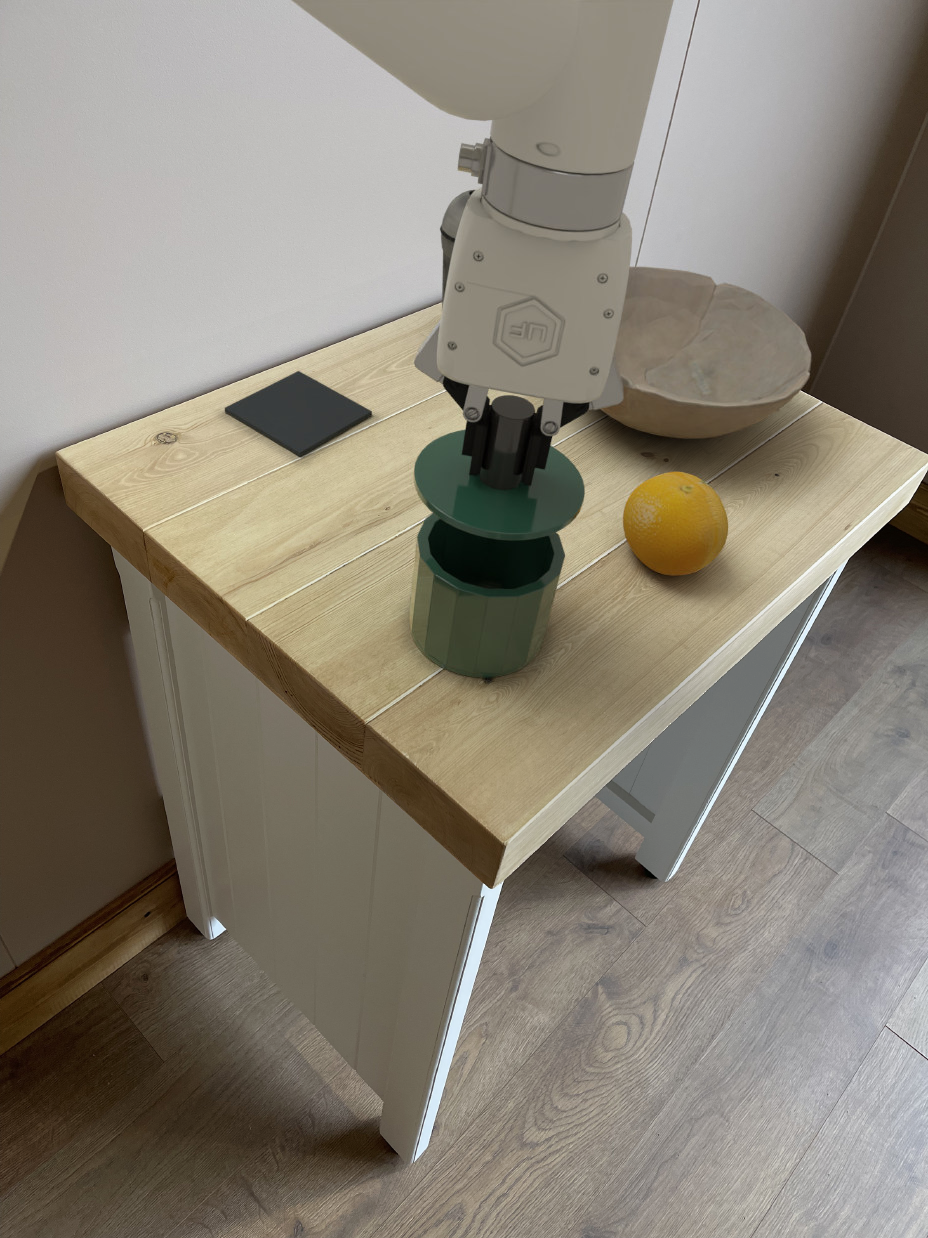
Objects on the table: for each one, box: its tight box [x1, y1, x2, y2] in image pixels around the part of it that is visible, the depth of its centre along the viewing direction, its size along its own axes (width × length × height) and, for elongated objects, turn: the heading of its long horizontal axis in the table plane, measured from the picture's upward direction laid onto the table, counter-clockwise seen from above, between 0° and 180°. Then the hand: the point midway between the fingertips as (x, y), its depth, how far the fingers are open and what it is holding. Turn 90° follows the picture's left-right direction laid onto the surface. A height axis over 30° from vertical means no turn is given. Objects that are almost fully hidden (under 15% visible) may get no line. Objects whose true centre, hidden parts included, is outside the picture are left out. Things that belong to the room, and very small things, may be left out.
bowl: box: [593, 266, 812, 439], centre depth 94 cm, size 26×26×10 cm
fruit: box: [622, 471, 729, 576], centre depth 78 cm, size 9×8×8 cm
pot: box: [408, 512, 566, 679], centre depth 69 cm, size 11×11×8 cm
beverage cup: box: [439, 189, 476, 309], centre depth 97 cm, size 7×7×20 cm
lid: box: [412, 394, 586, 541], centre depth 60 cm, size 12×12×7 cm
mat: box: [224, 370, 373, 458], centre depth 90 cm, size 10×10×1 cm
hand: (502, 466), depth 61 cm, fingers closed on lid, 2 cm apart
